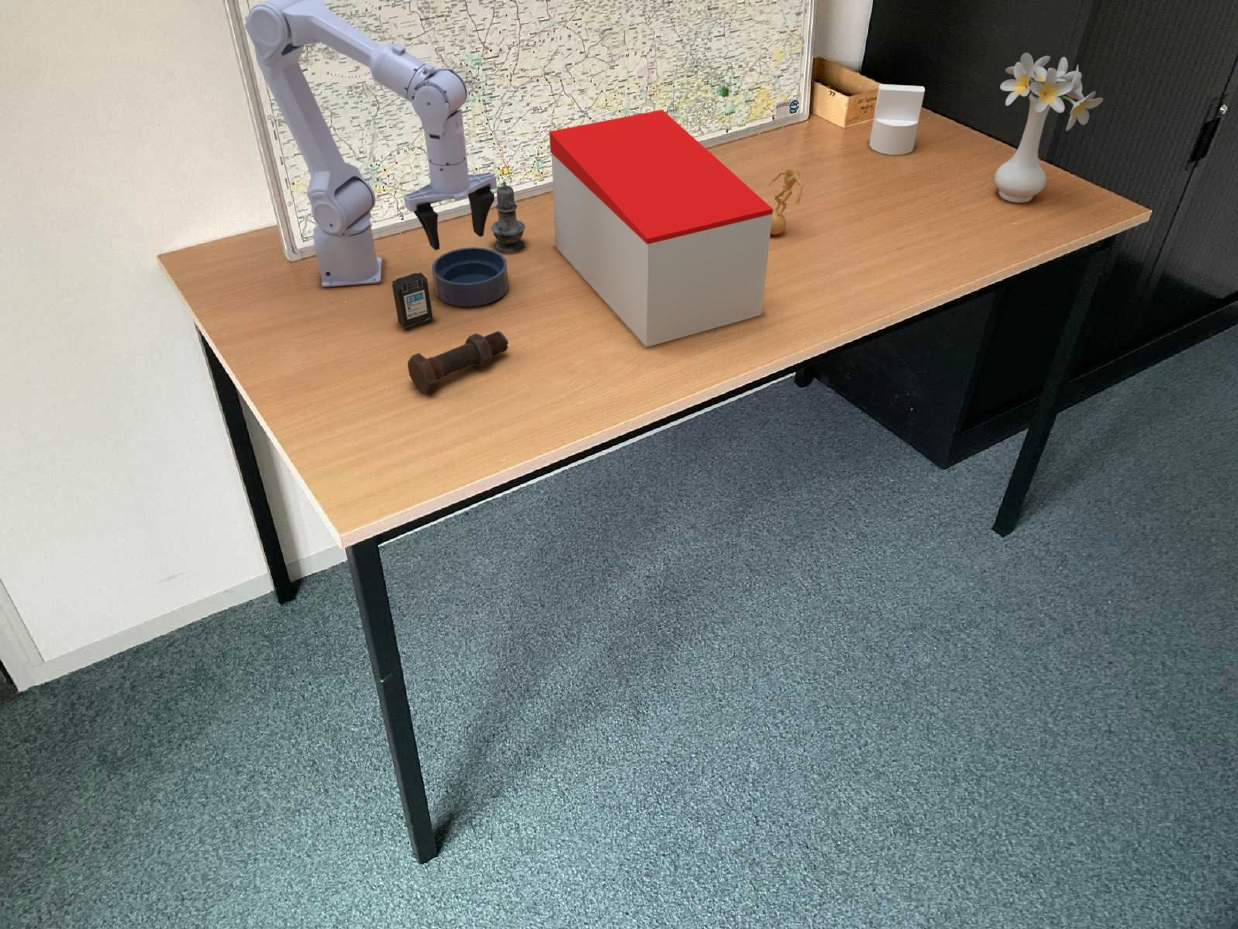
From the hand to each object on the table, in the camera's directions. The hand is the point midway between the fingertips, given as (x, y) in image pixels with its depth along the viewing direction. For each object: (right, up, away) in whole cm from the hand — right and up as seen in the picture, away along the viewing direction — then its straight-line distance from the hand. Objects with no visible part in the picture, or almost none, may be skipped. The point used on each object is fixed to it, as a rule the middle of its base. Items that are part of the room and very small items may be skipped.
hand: (457, 240), depth 157 cm
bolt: (+2, -21, -9) cm, 24 cm away
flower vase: (+101, +16, +33) cm, 108 cm away
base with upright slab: (+82, +31, +51) cm, 101 cm away
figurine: (+54, +7, +23) cm, 59 cm away
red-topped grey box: (+31, -4, +11) cm, 33 cm away
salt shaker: (+6, +3, +19) cm, 21 cm away
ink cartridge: (-6, -13, 0) cm, 15 cm away
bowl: (+1, -6, +8) cm, 10 cm away
